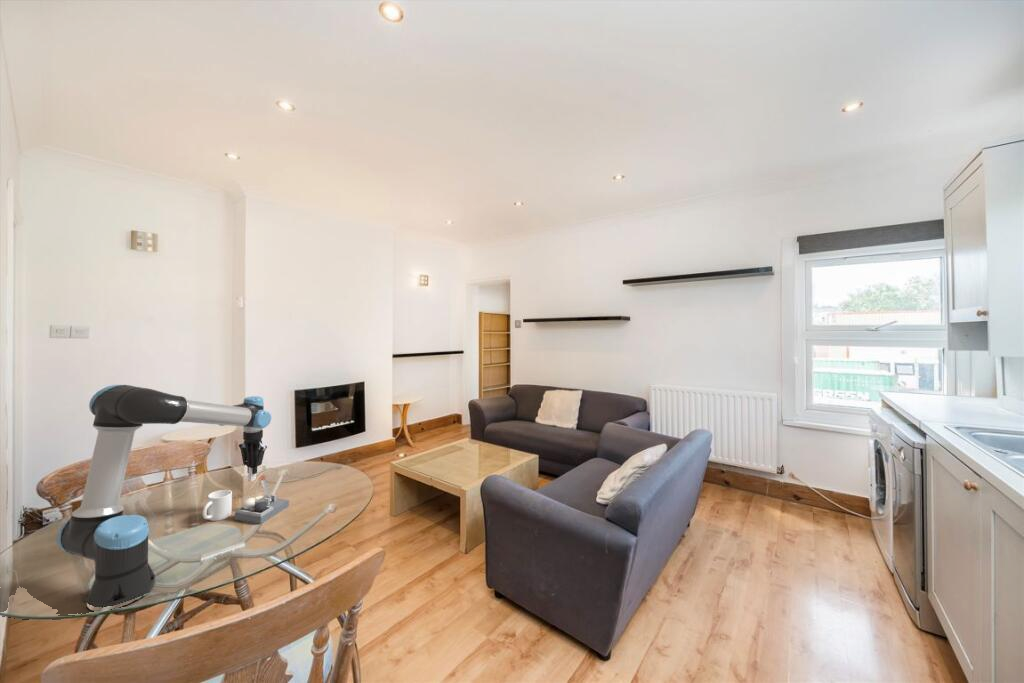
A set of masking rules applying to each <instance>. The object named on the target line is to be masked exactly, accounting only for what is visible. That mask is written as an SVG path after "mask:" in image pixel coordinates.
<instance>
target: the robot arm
mask: <svg viewBox="0 0 1024 683" xmlns="http://www.w3.org/2000/svg"><path fill="white" fill-rule="evenodd" d="M88 405H89V408H88V409H89V411H90V412H91V413H92V415H94V420H93V424H92V427H93V428H95V429H96V430H97V436H96V440H95V443H94V448H93V453H92V458H91V461H90V465H89V469H88V473H87V474H88V475H87V477H86V478H87V479H86V482H85V486H84V490H83V491H84V492H83V494H82V499H81V504H80V506H79V507H78V508H77V509H75V510H74V511H72V513H71V516H70V518H69V519H67V521H66V522H64V523H63V525H61V526H60V529H59V531H58V533H57V537H56V539H57V540H56V541H57V544H58V546H59V548H60V549H62V550H63V551H65V552H66V553H68V554H70V555H74V556H79V557H82V558H85V559H88V560H91V561H94V580H93V583H92V585H91V588H90V589H89V590H90V591H89V593H88V594H87V597H86V599H85V600H86V602H87V603H88V604H89V605H92V606H94V607H102V608H103V607H107V606H114V605H117V604H120V603H123V602H126V601H129V600H132V599H135V598H137V597H140V596H143V595H144V594H146V593H148V592H149V591H150V590H151V589H152V588H153V587H155V586H156V575H155V573H154V571H153V569H152V567H151V566H150V563H149V533H150V528H149V523H148V519H147V518H146V517H144V516H143V515H140V514H130V515H128V514H124V515H123V513H124V509H125V507H124V506H123V505H122V504H120V500H121V499H120V498H121V495H122V494H121V493H122V489H123V486H124V481H125V476H126V472H127V468H128V465H129V464H128V463H129V459H130V456H131V455H130V454H131V449H132V447H133V446H132V445H133V441H134V437H135V433H136V431H137V430H139V429H141V428H142V427H143V425H145V424H149V425H150V424H152V425H154V424H155V425H156V424H166V425H176V424H178V423H180V422H181V423H192V424H209V425H219V426H235V427H242V430H243V433H242V439H243V442H242V443H240V444H238V448H239V449H240V454H241V459H242V463H243V464H242V465H244V466H246V467H247V474H248V478H247V481H248V482H250V483H251V482H253V481H255V480H257V473H258V467H259V466H262V465H263V464H262V463H263V460H264V455H265V451H266V450H267V448H268V445H263V440H262V439H263V437H264V436H263V435H264V430H263V429H265V428H266V427H268V426H269V425H270V424H271V421H272V413H270V411H268V410H264V407H265V404H264V398H263V397H262V396H259V395H258V396H257V395H256V396H247V397H245V398H244V399H243V403H239V404H234V405H229V404H228V405H227V404H219V403H214V402H213V403H212V402H204V401H197V400H189V399H187V398H186V397H184V396H180V395H175V394H170V393H167V392H163V391H160V390H156V389H152V388H148V387H141V386H135V385H129V384H128V385H127V384H112V385H108V386H106V387H104V388H101V389H100V390H98V391H96V393H95V394H93V395H92V397H91V399H90V400H89V404H88ZM154 585H155V586H154ZM153 589H154V588H153ZM153 589H152V590H153ZM152 590H151V591H152ZM151 591H150V592H151ZM150 592H149V593H150ZM149 593H148V594H149Z"/></svg>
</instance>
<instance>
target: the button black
mask: <svg viewBox="0 0 1024 683" xmlns="http://www.w3.org/2000/svg"><path fill="white" fill-rule="evenodd" d="M265 510H267V503H266V502H259V503H256V504H255V512H257V513H262V512H264V511H265Z"/></svg>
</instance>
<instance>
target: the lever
mask: <svg viewBox="0 0 1024 683" xmlns="http://www.w3.org/2000/svg"><path fill="white" fill-rule="evenodd" d="M258 480H259V482H260V483H261V485H262V488H263V490H264V493H265V496H266V497H267V498H269V499H270V502H272V501H273V498H271V495H272V494H271V493H270V490H269V487H268V485H267V482H266V476H265V475H261V476H258Z"/></svg>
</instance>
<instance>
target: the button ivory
mask: <svg viewBox="0 0 1024 683" xmlns="http://www.w3.org/2000/svg"><path fill="white" fill-rule="evenodd" d="M255 502H256V498H255V497H247V498H245V499H242V506H243V509H249V508H252V507H254V506H255Z"/></svg>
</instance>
